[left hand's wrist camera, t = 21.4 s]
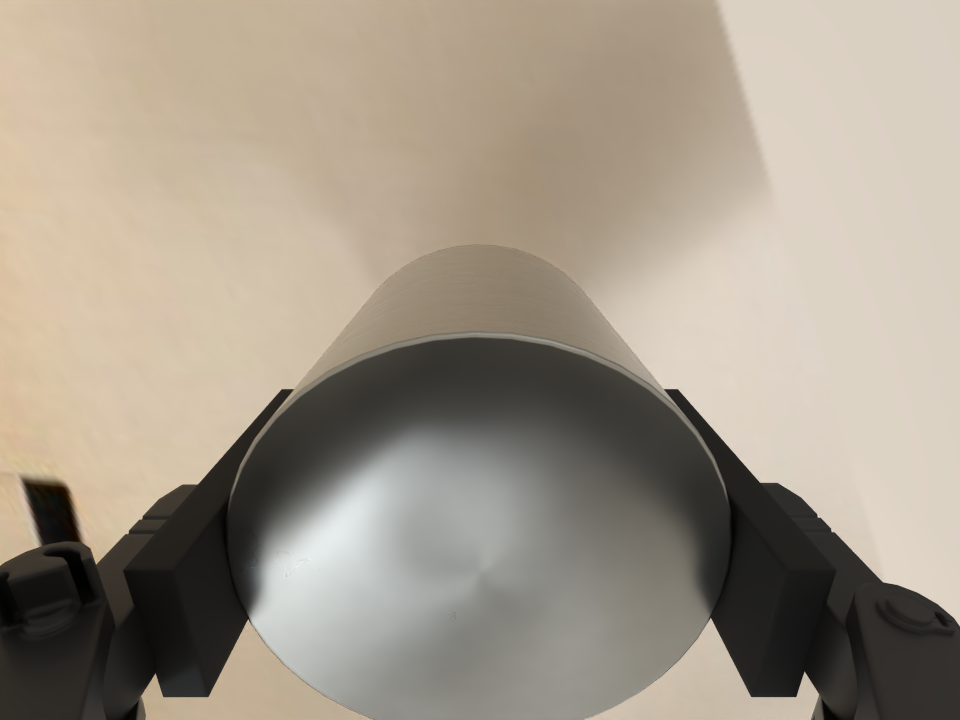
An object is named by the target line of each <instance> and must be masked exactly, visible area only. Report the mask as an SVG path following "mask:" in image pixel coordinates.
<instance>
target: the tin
mask: <svg viewBox="0 0 960 720" xmlns="http://www.w3.org/2000/svg"><path fill="white" fill-rule="evenodd" d="M731 549H732V523H731V509H730V505H729V501H728V496H727V492H726V487H725V483H724V481H723V478H722V476H721V474H720V471H719V469H718V466H717V464H716V461H715V459H714V457H713V455H712V453H711V452H710V450H709V449H708V447H707V445H706V444H705V442H704V440H703V439H702V437H701V436H700V434H699V432H698V431H697V430H696V428H695V427H694V426H693V425H692V423H691V422H690V421H689V420H688V419H687V417H686V416H685V415H684V414H683V412H682V411H681V410H680V409H679V408H678V406H677V405H676V404H675V403H674V401H673V400H672V399H671V398H670V397H669V395H668V394H667V393H666V392H665V390H664V389H663V388H662V387H661V386H660V384H659V383H658V382H657V381H656V379H655V378H654V377H653V376H652V375H651V373H650V372H649V371H648V370H647V368H646V367H645V366H644V365H643V364H642V362H641V361H640V360H639V359H638V357H637V356H636V355H635V354H634V353H633V351H632V350H631V349H630V348H629V346H628V345H627V344H626V343H625V342H624V340H623V339H622V338H621V337H620V335H619V334H618V333H617V332H616V331H615V329H614V328H613V327H612V326H611V324H610V323H609V322H608V321H607V320H606V318H605V317H604V316H603V315H602V313H601V312H600V311H599V310H598V309H597V307H596V306H595V305H594V304H593V302H592V301H591V300H590V299H589V298H588V296H587V295H586V294H585V293H584V292H583V291H582V289H581V288H580V287H579V286H578V285H577V284H576V283H575V282H574V281H573V280H572V279H570V278H569V277H568V276H567V275H566V274H565V273H564V272H562V271H561V270H559V269H557V268H556V267H554V266H553V265H551V264H550V263H548V262H546V261H544V260H542V259H540V258H538V257H536V256H534V255H531V254H528V253H525V252H522V251H519V250H516V249H512V248H506V247H501V246H494V245H467V246H457V247H452V248H448V249H444V250H439V251H436V252H434V253H431V254H428V255H426V256H423V257H421V258H419V259H417V260H415V261H413V262H411V263H409V264H408V265H406V266H404V267H403V268H401V269H400V270H399V271H397V272H396V273H395V274H393V275H392V276H390V277H389V278H388V279H387V280H386V281H385V282H384V283H383V284H382V285H381V286H380V287H379V288H378V289H377V290H376V291H375V293H374V294H373V295H372V296H371V297H370V299H369V300H368V301H367V302H366V304H365V305H364V306H363V307H362V308H361V310H360V311H359V312H358V313H357V314H356V316H355V317H354V318H353V319H352V320H351V322H350V323H349V324H348V325H347V326H346V328H345V329H344V330H343V331H342V332H341V334H340V335H339V336H338V337H337V339H336V340H335V341H334V342H333V343H332V345H331V346H330V347H329V348H328V349H327V351H326V352H325V353H324V354H323V355H322V357H321V358H320V359H319V360H318V361H317V363H316V364H315V365H314V366H313V367H312V369H311V370H310V371H309V372H308V373H307V375H306V376H305V377H304V378H303V380H302V381H301V382H300V383H299V384H298V386H297V387H296V388H295V389H294V390H293V392H292V393H291V394H290V395H289V396H288V398H287V399H286V400H285V401H284V402H283V404H282V405H281V406H280V407H279V408H278V410H277V411H276V412H275V413H274V415H273V416H272V417H271V418H270V420H269V421H268V422H267V424H266V425H265V426H264V427H263V429H262V430H261V431H260V433H259V434H258V435H257V436H256V438H255V439H254V441H253V443H252V445H251V446H250V448H249V450H248V452H247V454H246V456H245V457H244V459H243V461H242V463H241V465H240V467H239V470H238V473H237V476H236V479H235V482H234V484H233V487H232V490H231V494H230V500H229V506H228V512H227V518H226V552H227V558H228V564H229V570H230V576H231V579H232V582H233V585H234V588H235V590H236V593H237V596H238V599H239V602H240V604H241V606H242V607H243V609H244V611H245V613H246V615H247V617H248V619H249V621H250V623H251V625H252V626H253V627H254V629H255V630H256V632H257V633H258V635H259V636H260V637H261V639H262V640H263V642H264V643H265V645H266V646H267V647H268V648H269V649H270V650H271V651H272V652H273V653H274V654H275V656H276V657H277V658H278V659H279V660H280V661H281V662H282V663H283V664H284V665H285V666H286V667H287V668H288V669H290V670H291V671H292V672H293V673H294V674H295V675H296V676H298V677H299V678H300V679H301V680H302V681H303V682H305V683H306V684H308V685H309V686H311V687H312V688H314V689H315V690H317V691H318V692H320V693H321V694H323V695H324V696H325V697H327V698H329V699H331V700H333V701H335V702H337V703H338V704H340V705H342V706H344V707H346V708H348V709H350V710H352V711H354V712H357V713H359V714H362V715H364V716H366V717H369V718H371V719H374V720H584V719H587V718H590V717H593V716H595V715H597V714H599V713H602V712H604V711H606V710H608V709H610V708H613V707H615V706H617V705H619V704H620V703H622V702H624V701H626V700H627V699H629V698H631V697H632V696H634V695H636V694H638V693H639V692H641V691H642V690H643V689H645V688H646V687H648V686H649V685H650V684H652V683H653V682H654V681H656V680H657V679H658V678H660V677H661V676H662V675H663V674H664V673H666V672H667V671H668V670H669V669H670V668H671V667H672V666H673V665H674V664H675V663H676V662H677V661H678V660H680V659H681V657H682V656H683V655H684V654H685V653H686V652H687V650H688V649H689V648H690V647H691V646H692V644H693V643H694V642H695V641H696V640H697V638H698V637H699V635H700V634H701V632H702V631H703V629H704V628H705V626H706V624H707V623H708V621H709V620H710V618H711V617H712V614H713V612H714V610H715V608H716V606H717V603H718V601H719V599H720V597H721V594H722V592H723V589H724V585H725V581H726V578H727V574H728V571H729V567H730V558H731Z"/></svg>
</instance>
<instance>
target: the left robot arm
mask: <svg viewBox="0 0 960 720" xmlns="http://www.w3.org/2000/svg"><path fill="white" fill-rule="evenodd" d="M293 390H294V389H282V390H281V391H280V392H279V393H278V394H277V395H276V397H275V398H274V399H273V400H272V401H271V402H270V403H269V405H268V406H267V407H266V408H265V409H264V410H263V411H262V412H261V414H260V415H259V416H258V417H257V418H256V419H255V420H254V422H253V423H252V424H251V425H250V426H249V427H248V428H247V430H246V431H245V432H244V433H243V434H242V435H241V436H240V438H239V439H238V440H237V441H236V442H235V443H234V444H233V445H232V447H231V448H230V449H229V450H228V451H227V452H226V453H225V455H224V456H223V457H222V458H221V459H220V460H219V461H218V463H217V464H216V465H215V466H214V467H213V468H212V469H211V470H210V472H209V473H208V474H207V475H206V476H205V477H204V478H203V480H202V481H201V482H200V483H199V484H198V485H181V486H180V487H178V488H176V489H175V490H173V491H172V492H170V493H168V494H167V495H165V496H163V497H162V498H160V499H159V500H158V501H157V502H156V503H155V504H154V505H153V506H152V507H151V508H150V509H149V510H148V511H147V512H146V513H145V514H144V515H143V519H142V520H139V521H138V522H137V523H136V524H135V525H134V526H133V527H132V528H131V529H130V530H129V534H125V535H124V536H123V537H122V538H121V540H120V541H119V542H118V543H117V544H116V545H115V546H114V547H113V548H112V549H111V550H110V551H109V552H108V553H107V554H106V555H105V556H104V557H103V558H102V559H101V560H100V561H99V562H98V564H97V565H96V563H95V561H94V558H93V555H92V552H91V549H90V548H89V547H87V546H86V545H84V544H83V543H79V542H68V541H66V542H60V543H54V544H48V545H45V546H42V547H39V548H36V549H33V550H30V551H27V552H25V553H23V554H21V555H19V556H17V557H15V558H13V559H11V560H9V561H7V562H5V563H4V564H2V565H1V566H0V720H145V717H146V714H145V709H144V703H143V701H142V698H141V695H142V694H143V692H144V690H145V689H146V687H147V686H148V684H149V683H150V681H151V679H152V678H153V676H154V675H155V673H156V676H157V679H158V682H159V685H160V688H161V691H162V694H163V697H209V695H210V693H211V691H212V689H213V687H214V685H215V683H216V681H217V679H218V677H219V675H220V673H221V671H222V669H223V667H224V665H225V663H226V661H227V659H228V657H229V655H230V653H231V651H232V650H233V648H234V646H235V644H236V642H237V640H238V638H239V636H240V634H241V632H242V630H243V628H244V626H245V624H246V622H247V620H248V617H247V615H246V613H245V611H244V609H243V607H242V606H241V604H240V602H239V599H238V596H237V593H236V590H235V588H234V585H233V582H232V579H231V576H230V570H229V564H228V558H227V552H226V518H227V512H228V506H229V500H230V494H231V490H232V487H233V484H234V482H235V479H236V476H237V473H238V470H239V467H240V465H241V463H242V461H243V459H244V457H245V456H246V454H247V452H248V450H249V448H250V446H251V445H252V443H253V441H254V439H255V438H256V436H257V435H258V434H259V433H260V431H261V430H262V429H263V427H264V426H265V425H266V424H267V422H268V421H269V420H270V418H271V417H272V416H273V415H274V413H275V412H276V411H277V410H278V408H279V407H280V406H281V405H282V404H283V402H284V401H285V400H286V399H287V398H288V396H289V395H290V394H291V393H292V392H293ZM664 390H665V392H666V393H667V394H668V395H669V397H670V398H671V399H672V400H673V401H674V403H675V404H676V405H677V406H678V408H679V409H680V410H681V411H682V412H683V414H684V415H685V416H686V417H687V419H688V420H689V421H690V422H691V423H692V425H693V426H694V427H695V428H696V430H697V431H698V432H699V434H700V436H701V437H702V439H703V440H704V442H705V444H706V445H707V447H708V449H709V450H710V452H711V453H712V455H713V457H714V459H715V461H716V464H717V466H718V469H719V471H720V474H721V476H722V478H723V481H724V483H725V487H726V492H727V496H728V501H729V505H730V509H731V523H732V549H731V558H730V567H729V571H728V574H727V578H726V581H725V585H724V589H723V592H722V594H721V597H720V599H719V601H718V603H717V606H716V608H715V610H714V612H713V614H712V617H711V619H712V621H713V623H714V625H715V627H716V629H717V631H718V633H719V634H720V636H721V638H722V640H723V642H724V644H725V646H726V648H727V650H728V652H729V654H730V656H731V658H732V660H733V662H734V664H735V666H736V668H737V670H738V672H739V674H740V676H741V678H742V680H743V682H744V684H745V686H746V688H747V689H748V691H749V693H750V695H751V697H796V696H797V693H798V690H799V687H800V684H801V680H802V677H803V674H804V671H805V673H806V674H807V676H808V677H809V679H810V680H811V682H812V684H813V685H814V687H815V688H816V690H817V691H818V693H819V694H820V695H819V698H818V701H817V703H816V706H815V709H814V712H813V715H812V718H811V720H960V626H959V625H958V623H957V622H956V621H955V619H954V618H953V617H952V616H951V615H950V614H948V613H947V612H946V611H945V610H944V609H942V608H941V607H940V606H939V605H938V604H936V603H934V602H932V601H931V600H929V599H927V598H926V597H924V596H922V595H920V594H919V593H917V592H914V591H911V590H909V589H906V588H903V587H901V586H898V585H894V584H888V583H883V582H882V581H881V580H880V579H879V578H878V577H877V576H876V575H875V574H874V573H873V572H872V571H871V570H870V569H869V568H868V567H867V566H866V564H865V563H864V562H863V561H862V560H861V559H860V558H859V557H858V556H857V555H856V554H855V553H854V552H853V551H852V550H851V549H850V548H849V547H848V546H847V545H846V544H845V543H844V542H843V541H842V540H841V539H840V537H839V536H838V535H837V534H836V533H835V532H831V528H830V527H829V526H828V525H827V524H826V523H825V522H824V521H823V520H822V519H821V518H818V517H817V514H816V513H815V512H814V511H813V509H812V508H811V507H810V506H809V505H808V504H807V503H806V502H805V501H804V500H803V499H802V498H801V497H799V496H798V495H796V494H794V493H793V492H791V491H790V490H788V489H786V488H785V487H783V486H782V485H780V484H778V483H760V482H759V481H758V480H757V479H756V478H755V477H754V475H753V474H752V473H751V472H750V471H749V470H748V469H747V467H746V466H745V465H744V464H743V463H742V462H741V461H740V460H739V458H738V457H737V456H736V455H735V454H734V453H733V452H732V450H731V449H730V448H729V447H728V446H727V445H726V444H725V442H724V441H723V440H722V439H721V438H720V437H719V436H718V434H717V433H716V432H715V431H714V430H713V429H712V428H711V427H710V425H709V424H708V423H707V422H706V421H705V420H704V419H703V417H702V416H701V415H700V414H699V413H698V412H697V411H696V409H695V408H694V407H693V406H692V405H691V404H690V403H689V402H688V400H687V399H686V398H685V397H684V396H683V395H682V394H681V392H680V391H679V390H678V389H664Z"/></svg>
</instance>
